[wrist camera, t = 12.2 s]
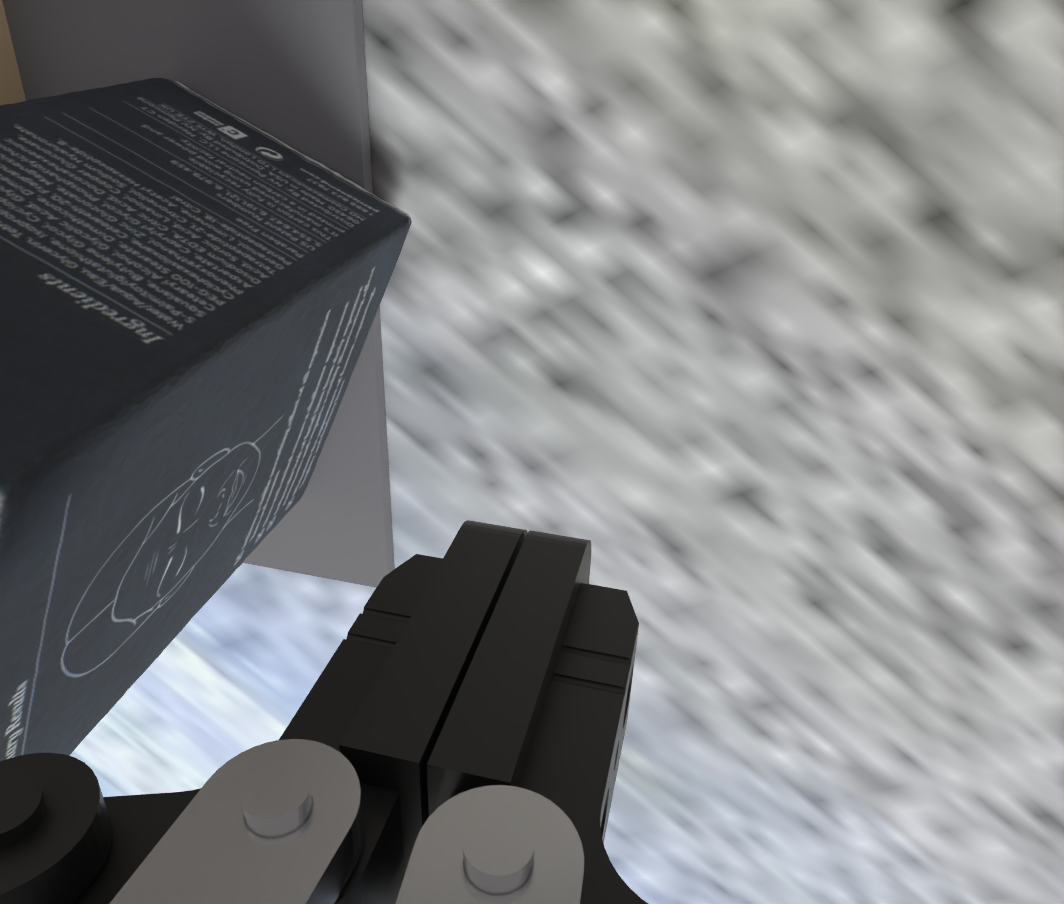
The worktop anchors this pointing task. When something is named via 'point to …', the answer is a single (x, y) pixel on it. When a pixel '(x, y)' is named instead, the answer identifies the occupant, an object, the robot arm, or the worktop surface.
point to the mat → (290, 116)
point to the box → (157, 374)
